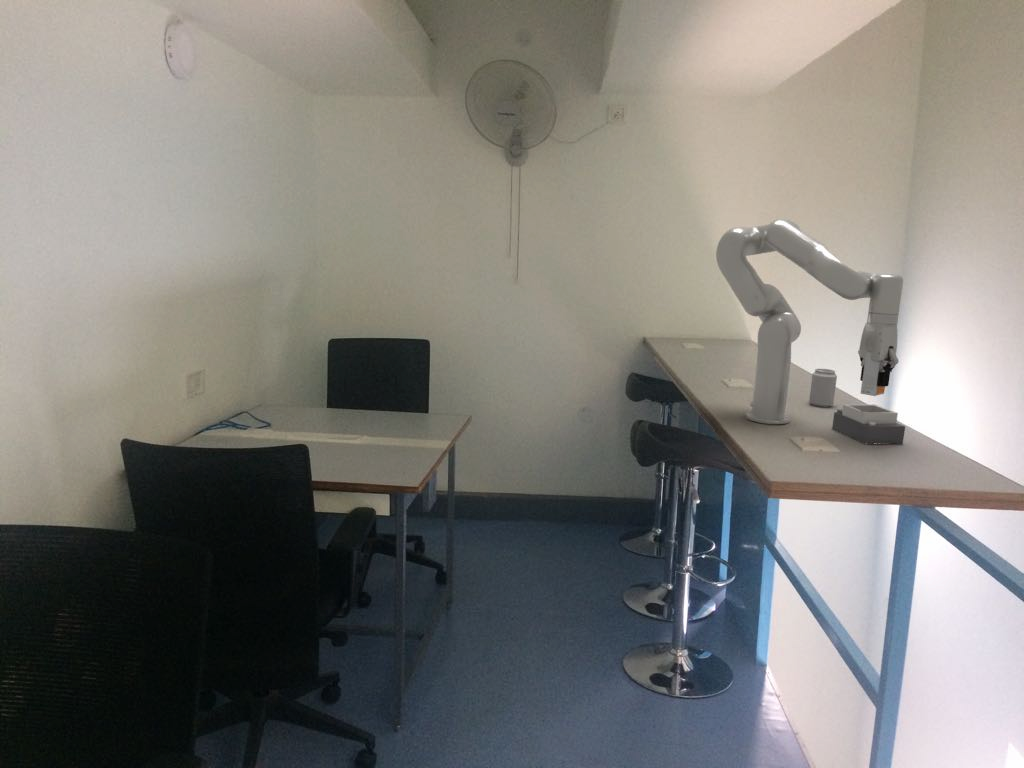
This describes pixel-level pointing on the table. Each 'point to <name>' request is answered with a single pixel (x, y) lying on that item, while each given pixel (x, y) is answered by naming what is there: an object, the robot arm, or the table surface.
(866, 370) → the skincare box
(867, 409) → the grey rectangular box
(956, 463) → the table surface
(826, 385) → the can
